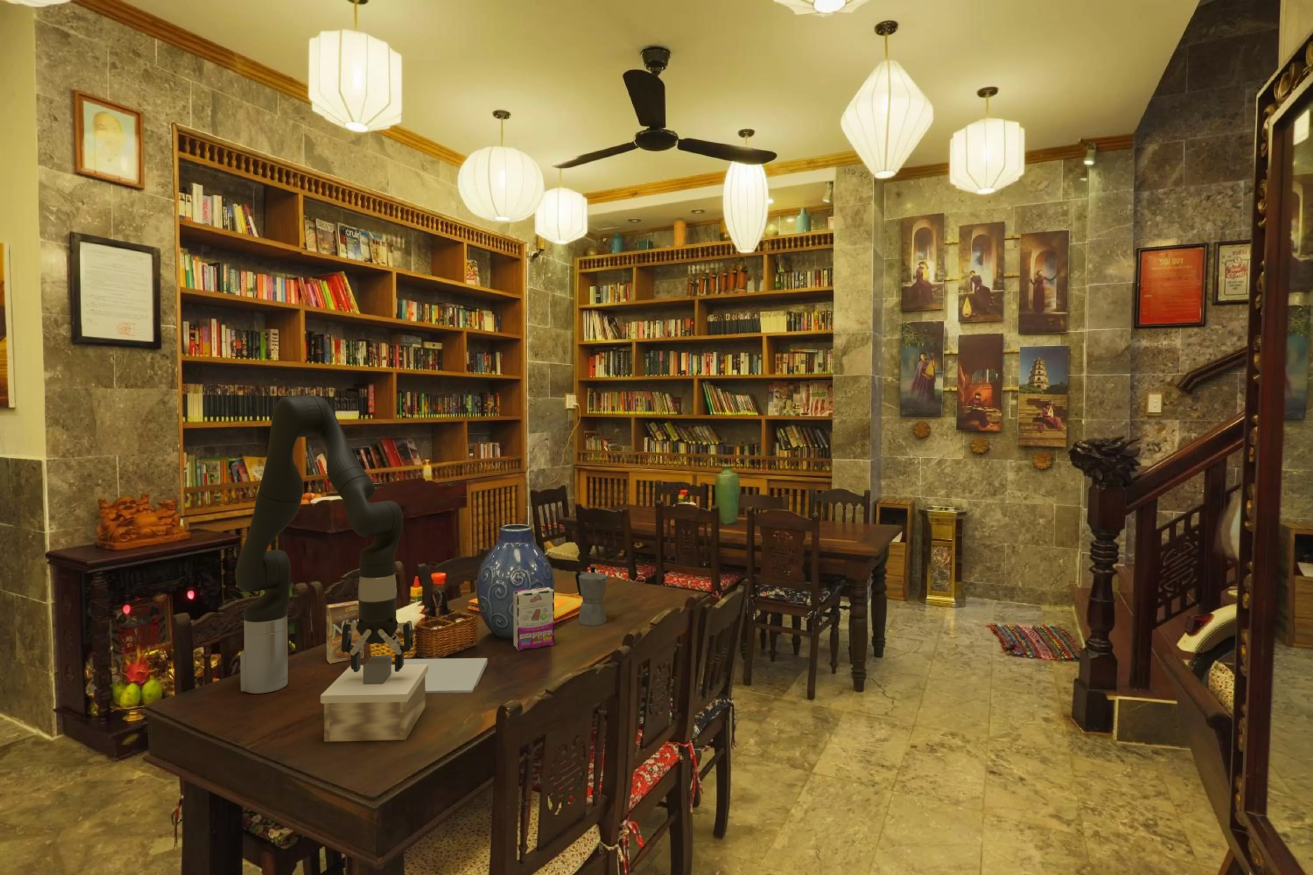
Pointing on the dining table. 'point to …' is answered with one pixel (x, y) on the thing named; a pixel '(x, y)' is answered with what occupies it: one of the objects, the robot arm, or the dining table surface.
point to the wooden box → (373, 719)
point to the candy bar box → (533, 618)
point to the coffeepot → (591, 597)
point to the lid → (376, 683)
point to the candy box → (335, 622)
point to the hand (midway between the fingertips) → (377, 670)
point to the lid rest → (451, 674)
